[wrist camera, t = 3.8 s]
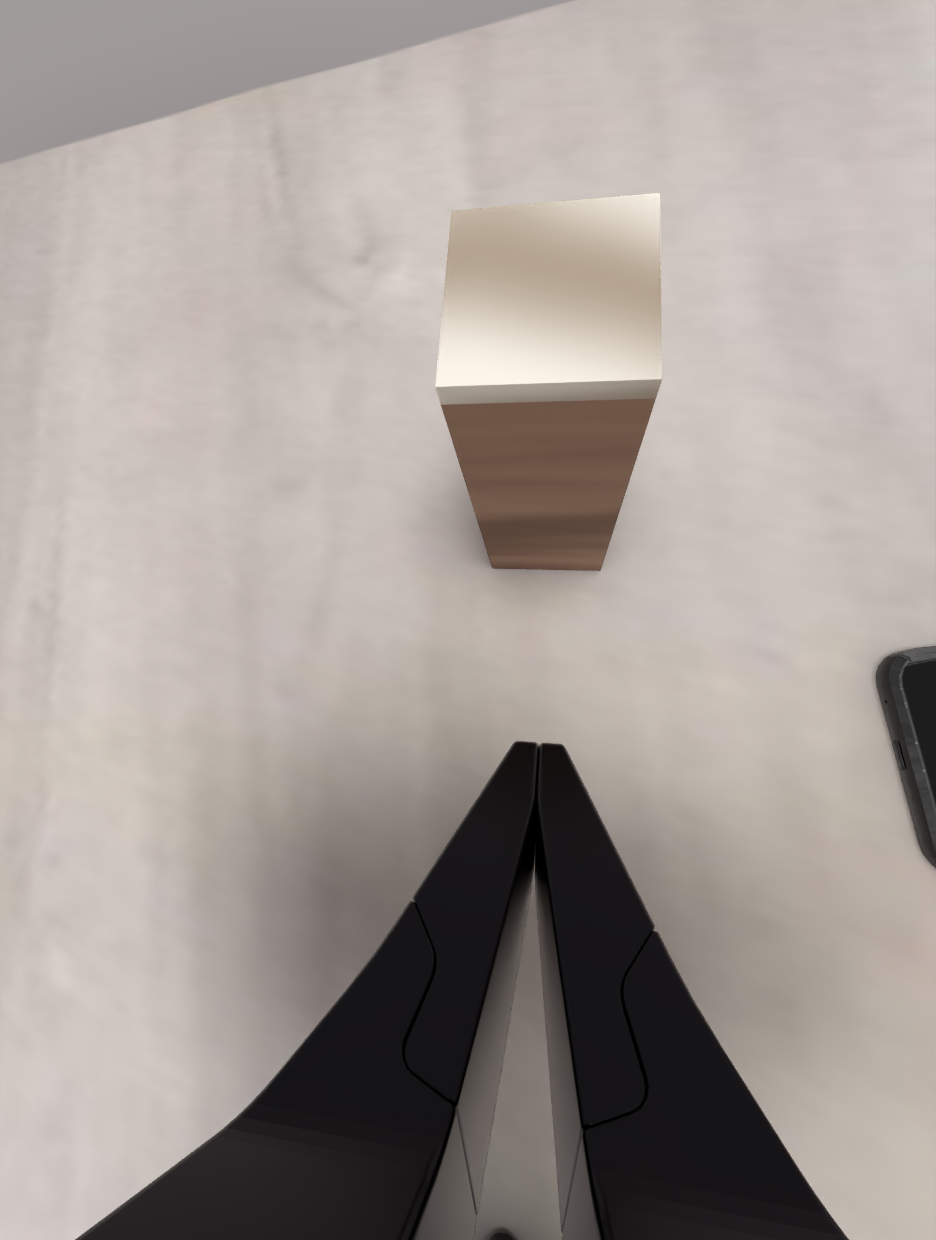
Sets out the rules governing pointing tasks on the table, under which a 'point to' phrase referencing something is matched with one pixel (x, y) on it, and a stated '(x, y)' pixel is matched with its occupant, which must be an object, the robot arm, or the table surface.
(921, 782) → the phone
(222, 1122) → the table surface
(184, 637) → the table surface
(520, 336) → the walnut block
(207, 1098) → the table surface
